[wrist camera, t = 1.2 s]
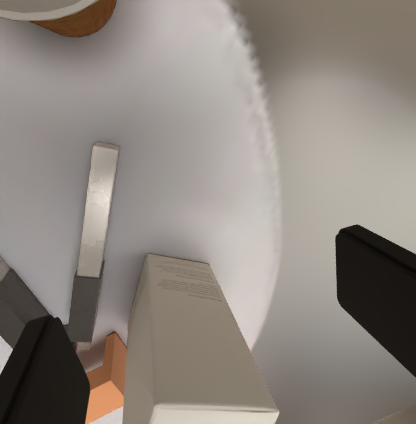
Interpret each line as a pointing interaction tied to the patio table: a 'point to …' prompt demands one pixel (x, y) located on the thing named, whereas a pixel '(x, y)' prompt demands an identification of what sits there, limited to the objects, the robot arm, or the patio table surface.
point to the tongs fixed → (17, 306)
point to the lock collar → (107, 380)
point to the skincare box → (189, 352)
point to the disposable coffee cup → (61, 14)
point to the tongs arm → (92, 244)
